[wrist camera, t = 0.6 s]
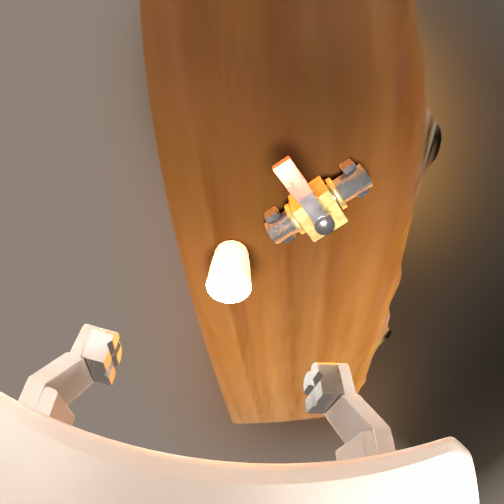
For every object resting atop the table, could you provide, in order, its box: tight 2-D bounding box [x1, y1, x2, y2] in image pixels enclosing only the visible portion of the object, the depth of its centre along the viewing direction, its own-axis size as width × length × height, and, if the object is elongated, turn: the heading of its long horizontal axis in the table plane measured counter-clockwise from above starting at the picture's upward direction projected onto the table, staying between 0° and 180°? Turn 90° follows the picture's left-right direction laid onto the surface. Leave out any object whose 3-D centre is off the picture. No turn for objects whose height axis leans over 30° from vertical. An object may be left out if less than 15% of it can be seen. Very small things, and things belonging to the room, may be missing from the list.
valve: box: [264, 158, 373, 244], centre depth 48 cm, size 20×7×8 cm, turn 127°
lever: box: [272, 156, 335, 235], centre depth 41 cm, size 14×3×2 cm, turn 37°
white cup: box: [206, 240, 251, 303], centre depth 54 cm, size 8×8×10 cm
